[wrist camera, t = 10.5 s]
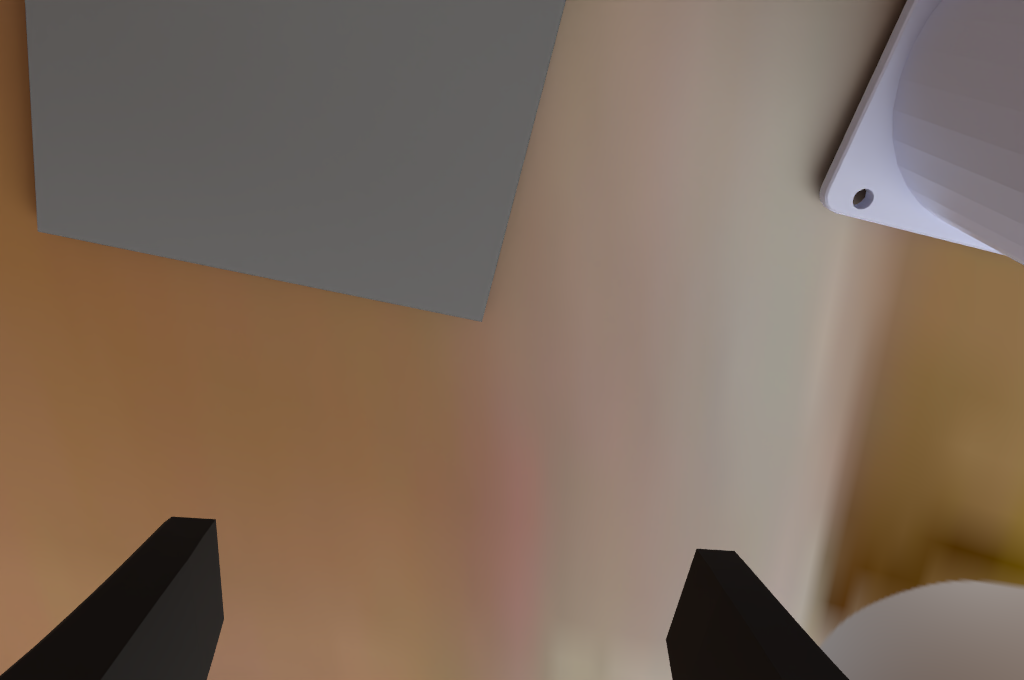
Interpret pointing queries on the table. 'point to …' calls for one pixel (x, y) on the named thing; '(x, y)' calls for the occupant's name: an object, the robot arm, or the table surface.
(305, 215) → the mat
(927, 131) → the robot arm
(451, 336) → the table surface
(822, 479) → the table surface
